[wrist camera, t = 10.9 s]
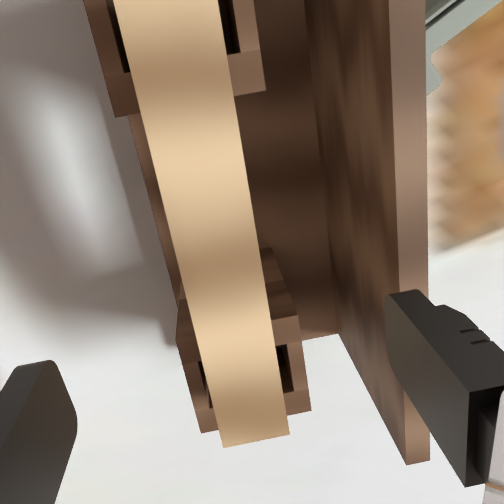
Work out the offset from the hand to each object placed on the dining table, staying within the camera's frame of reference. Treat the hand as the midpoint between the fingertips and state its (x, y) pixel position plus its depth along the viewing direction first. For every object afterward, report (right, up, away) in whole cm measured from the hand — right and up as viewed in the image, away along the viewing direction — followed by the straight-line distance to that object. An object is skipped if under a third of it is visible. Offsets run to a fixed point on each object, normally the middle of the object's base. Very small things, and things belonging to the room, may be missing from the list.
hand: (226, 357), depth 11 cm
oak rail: (-1, +5, +12) cm, 14 cm away
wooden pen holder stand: (0, +8, +19) cm, 21 cm away
